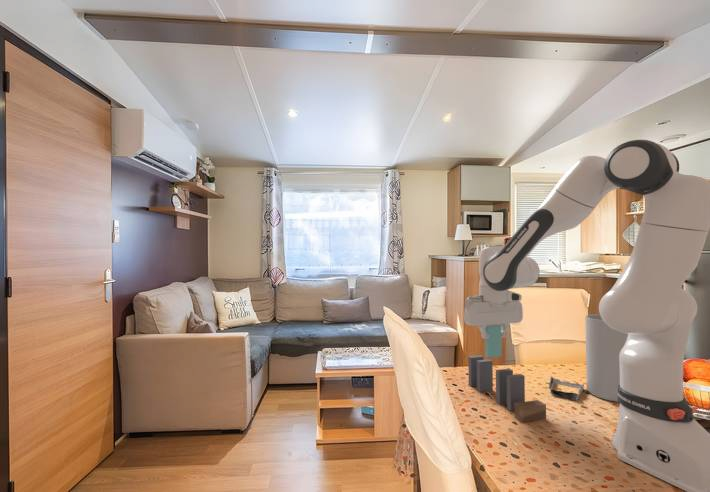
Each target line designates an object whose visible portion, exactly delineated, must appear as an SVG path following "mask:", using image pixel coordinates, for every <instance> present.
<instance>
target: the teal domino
mask: <svg viewBox="0 0 710 492" xmlns="http://www.w3.org/2000/svg"><path fill="white" fill-rule="evenodd" d="M501 327H502V326H501V324H491V325H486V328H484V329H485V331H486V333H489V338H487V339H484V357H486V358H487V359H488V358H489V359H490V358H501V357H502V355H503V354H502V350H503V349H502V347H503V345H502V337H501Z"/></svg>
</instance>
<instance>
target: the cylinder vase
mask: <svg viewBox="0 0 710 492" xmlns="http://www.w3.org/2000/svg"><path fill="white" fill-rule="evenodd" d="M627 337H628V334H627V333H622V332H618V331H616V330H613V329H612V328H610V327H609V326H608V325H607V324H606V323H605V322H604V321H603V320H602V318H601V316H600V314H586V315H585V359H586V361H585V362H586V363H585V364H586V365H585V366H586V368H585V369H586V390H587V392H589V394H591V395H593V396H594V397H597V398H599V399H602V400H606V401H610V402H615V403H619V402H618V385H619V384H620V368H619V355H620V351H621V349H622V348H623V347H624V345H625V343H626V340H627Z"/></svg>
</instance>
